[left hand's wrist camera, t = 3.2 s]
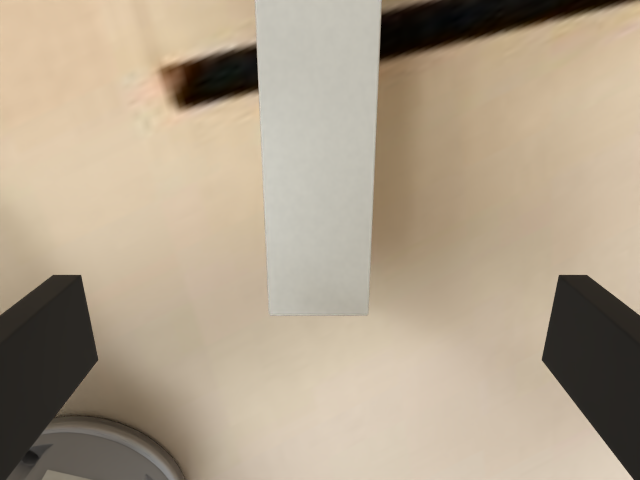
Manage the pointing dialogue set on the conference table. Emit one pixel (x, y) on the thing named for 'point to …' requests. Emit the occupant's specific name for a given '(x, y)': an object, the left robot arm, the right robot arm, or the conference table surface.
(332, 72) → the bar
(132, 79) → the conference table surface
